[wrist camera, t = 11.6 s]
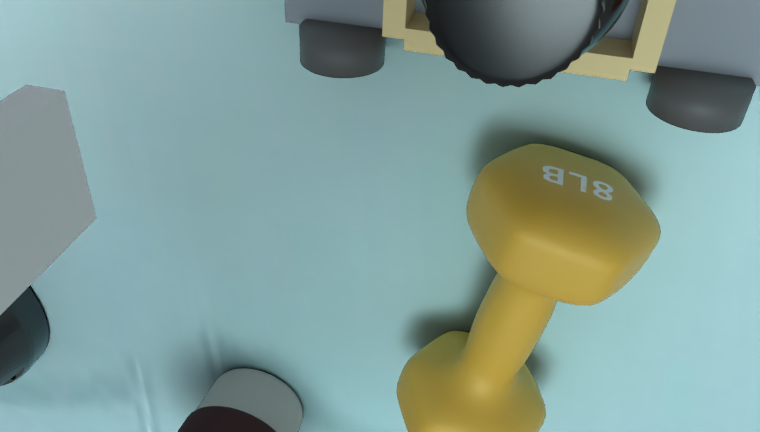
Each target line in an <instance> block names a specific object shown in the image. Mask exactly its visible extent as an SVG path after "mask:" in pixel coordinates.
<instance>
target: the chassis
mask: <svg viewBox="0 0 760 432" xmlns="http://www.w3.org/2000/svg"><path fill="white" fill-rule="evenodd" d="M285 18H286V22H291V23H298V24H300V26H299V35H300V62H301V64H302V66H303V67H304V68H306V69H307V70H309V71H310V72H313V73H315V74H318V75H322V76H326V77H333V78H355V77H361V76H366V75H369V74H372V73H374V72H376V71H378V70H379V69H381V68H382V66H383V65H384V55H385V37H390V38H397V39H404V50H405V51H412V52H419V53H426V54H434V55H441V56H445V55H444V52H443V50H442V49H440V48H439V47H438V46H437V45H436V41H435V36H434V35H433V34H432V33H431V32H430V30H429V20H428V18H427V17H426V15H425V9H424V7H423V4H422V2H421V0H285ZM629 70H633V71H640V72H648V73H654V76H653V79H652V82H651V86H650V89H649V93H648V96H647V100H646V105H647V107H648V109H649V110H650V112H651V113H653V114H654V115H655V116H656V117H658V118H659V119H661V120H663V121H665V122H667V123H669V124H671V125H674V126H677V127H680V128H683V129H687V130H691V131H697V132H704V133H723V132H729V131H732V130H735V129H737V128H738V127H739V126H740V125H741V124H742V122H743V119H744V116H745V114H746V111H747V109H748V106H749V104H750V101H751V99H752V96H753V93H754V91H755V88H756V86H760V0H629V3H628V5H627V7H626V9H625V10H624V12H623V14H622V15H621V17H620V19H619V20H618V21H617V23H616V24H615V25H614V27H613V28H612V29H611V30H610V31H609V33H608V34H607V35H606V36H605V37H604V38H603V39H602V40H601V41H600V42H599V43H598V44H596V45H595V46H594V47H592V48H591V49H590V50H589V51H587V52H586V53H584V54H583V55H581V56H580V58H579V59H577V60H575V61H573V62H571V63H570V65H569V67H568V68H567V69H566V70H564V71H561V72H564V73H571V74H578V75H585V76H592V77H600V78H607V79H614V80H621V81H627V78H628V74H629Z"/></svg>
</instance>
